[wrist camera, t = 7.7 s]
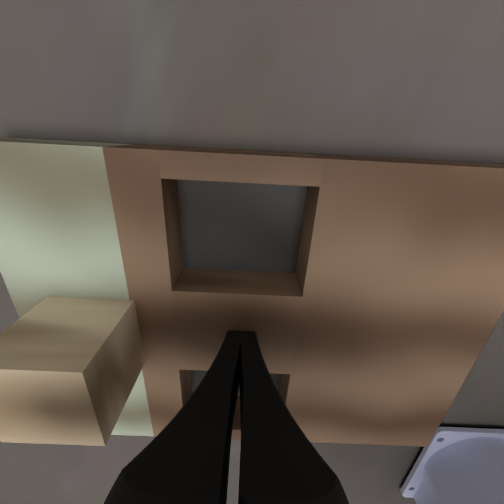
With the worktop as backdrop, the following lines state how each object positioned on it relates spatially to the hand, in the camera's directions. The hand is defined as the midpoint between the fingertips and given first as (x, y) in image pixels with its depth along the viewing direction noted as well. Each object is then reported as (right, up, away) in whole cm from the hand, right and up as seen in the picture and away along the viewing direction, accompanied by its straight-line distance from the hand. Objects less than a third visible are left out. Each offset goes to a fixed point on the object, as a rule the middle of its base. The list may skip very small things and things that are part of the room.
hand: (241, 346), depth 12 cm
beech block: (-7, +1, 0) cm, 7 cm away
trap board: (+1, +1, +3) cm, 3 cm away
